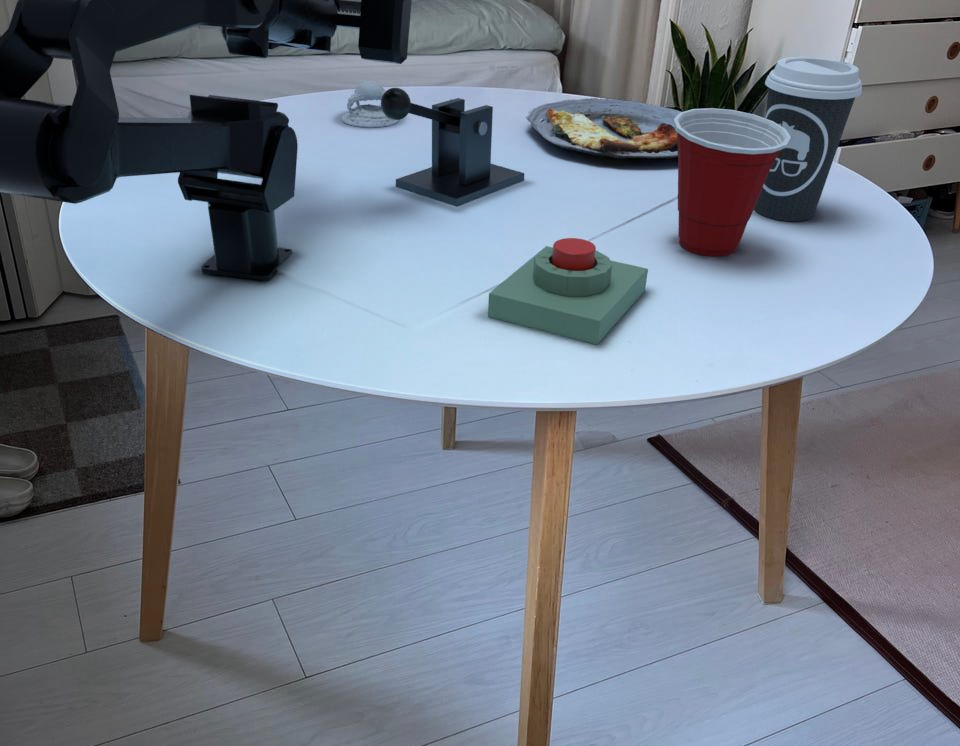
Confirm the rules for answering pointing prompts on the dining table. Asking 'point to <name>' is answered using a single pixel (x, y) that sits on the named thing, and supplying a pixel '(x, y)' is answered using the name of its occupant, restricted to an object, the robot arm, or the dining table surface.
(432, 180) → the lever bracket
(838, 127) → the coffee cup
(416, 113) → the control lever
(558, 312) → the button block
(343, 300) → the dining table surface
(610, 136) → the food plate
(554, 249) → the button
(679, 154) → the plastic cup
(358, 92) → the miniature
